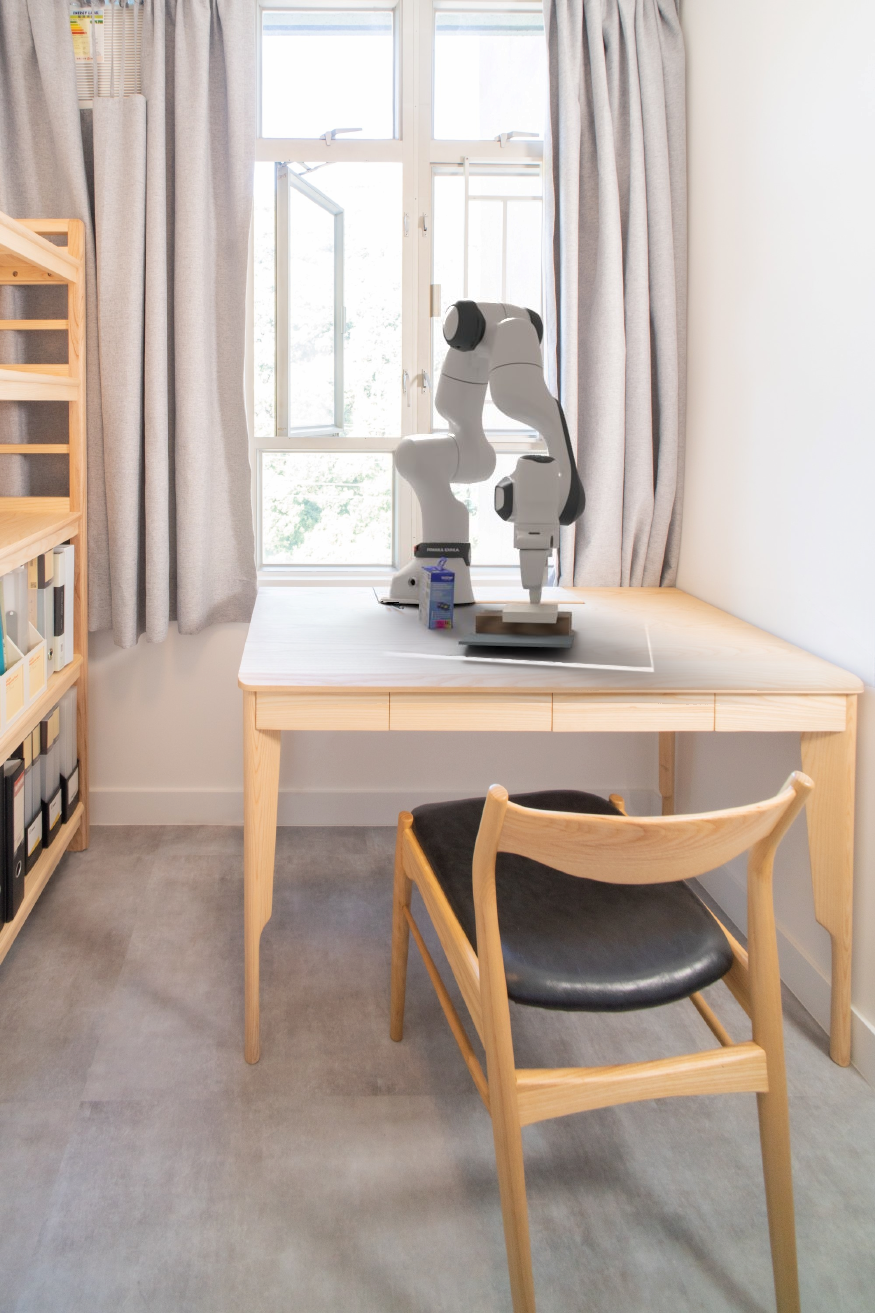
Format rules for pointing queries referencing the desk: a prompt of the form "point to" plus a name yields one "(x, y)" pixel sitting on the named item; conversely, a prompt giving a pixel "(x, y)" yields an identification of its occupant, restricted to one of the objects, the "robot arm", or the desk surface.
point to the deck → (522, 624)
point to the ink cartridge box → (436, 596)
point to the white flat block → (530, 613)
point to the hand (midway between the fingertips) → (535, 610)
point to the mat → (517, 640)
